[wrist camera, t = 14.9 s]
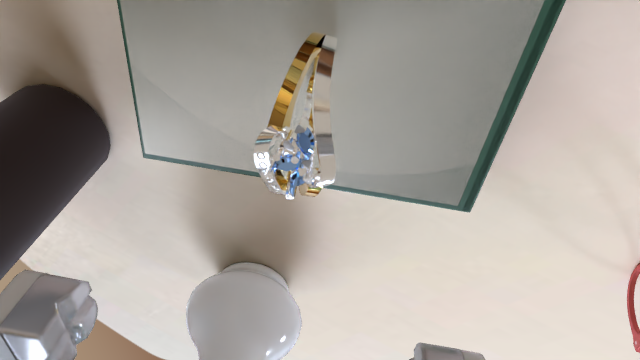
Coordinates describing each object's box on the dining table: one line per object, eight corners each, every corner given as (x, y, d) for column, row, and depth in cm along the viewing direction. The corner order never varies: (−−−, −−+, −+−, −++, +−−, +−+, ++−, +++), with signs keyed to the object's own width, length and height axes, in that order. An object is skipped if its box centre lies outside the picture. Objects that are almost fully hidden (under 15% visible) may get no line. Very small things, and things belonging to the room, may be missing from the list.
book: (561, -56, 20) (585, -42, 18) (463, 182, 29) (470, 212, 26) (130, -122, 20) (96, -117, 18) (162, 132, 29) (143, 158, 27)
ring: (303, 1, 20) (264, 75, 14) (371, 21, 20) (363, 104, 14) (275, 127, 24) (236, 228, 18) (331, 143, 24) (312, 248, 18)
